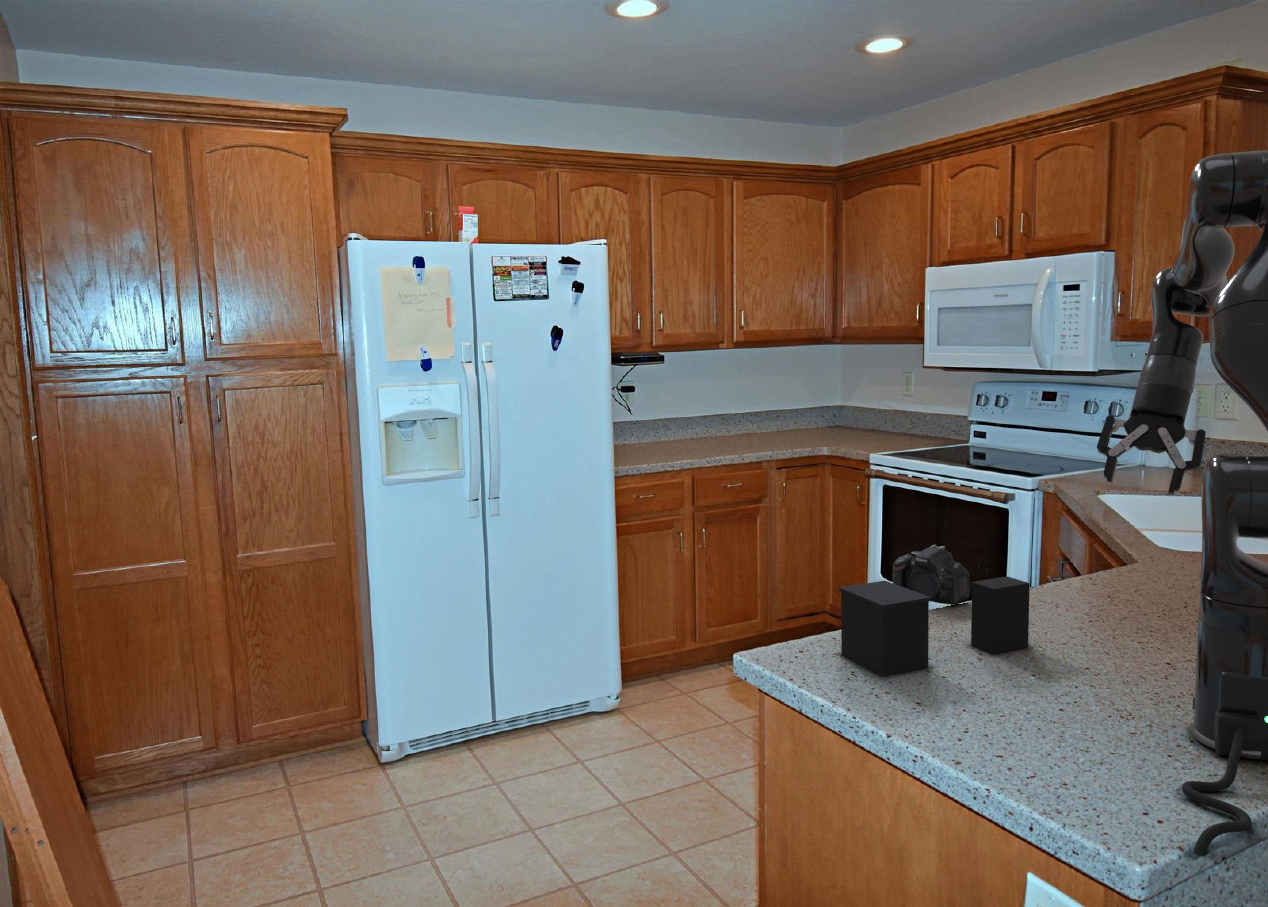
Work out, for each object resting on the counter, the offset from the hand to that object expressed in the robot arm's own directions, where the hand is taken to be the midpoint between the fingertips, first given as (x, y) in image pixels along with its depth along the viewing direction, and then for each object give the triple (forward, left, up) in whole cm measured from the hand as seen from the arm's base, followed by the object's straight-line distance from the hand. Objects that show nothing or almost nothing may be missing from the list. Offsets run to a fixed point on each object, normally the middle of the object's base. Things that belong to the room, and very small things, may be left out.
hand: (1139, 487), depth 138 cm
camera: (+8, +32, -23) cm, 40 cm away
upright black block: (-14, +20, -23) cm, 33 cm away
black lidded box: (-26, +35, -23) cm, 50 cm away
